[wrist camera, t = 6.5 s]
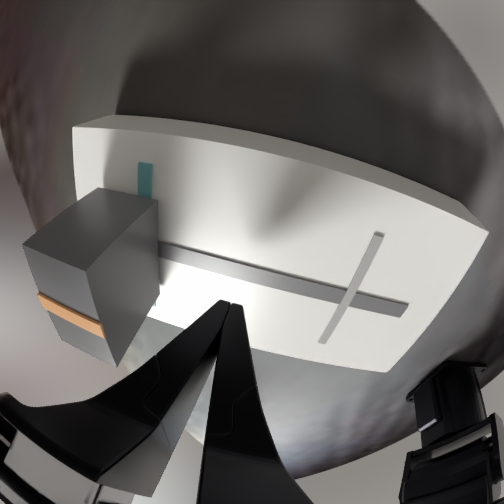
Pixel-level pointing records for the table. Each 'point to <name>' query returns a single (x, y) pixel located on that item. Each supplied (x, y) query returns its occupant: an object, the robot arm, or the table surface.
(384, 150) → the table surface
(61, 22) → the table surface
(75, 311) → the fader
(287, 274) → the console
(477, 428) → the robot arm
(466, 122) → the table surface
